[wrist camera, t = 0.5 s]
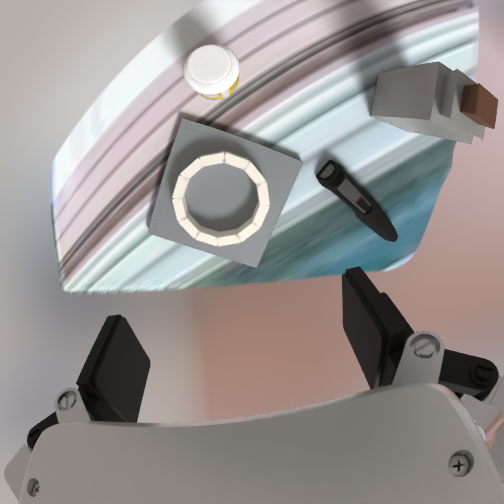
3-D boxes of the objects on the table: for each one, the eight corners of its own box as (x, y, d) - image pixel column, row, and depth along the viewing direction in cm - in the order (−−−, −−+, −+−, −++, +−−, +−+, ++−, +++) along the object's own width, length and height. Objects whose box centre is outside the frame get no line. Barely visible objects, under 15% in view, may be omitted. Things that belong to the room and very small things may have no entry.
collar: (183, 118, 31) (179, 118, 29) (301, 161, 35) (307, 164, 32) (149, 230, 38) (143, 238, 35) (255, 264, 41) (257, 275, 38)
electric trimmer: (379, 241, 41) (388, 250, 39) (312, 177, 36) (320, 182, 33) (394, 224, 40) (404, 232, 37) (330, 157, 35) (339, 160, 32)
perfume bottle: (415, 91, 30) (507, 93, 14) (407, 131, 33) (500, 152, 17) (378, 73, 29) (468, 58, 13) (369, 116, 32) (460, 124, 16)
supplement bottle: (228, 53, 28) (226, 28, 19) (245, 90, 30) (250, 77, 21) (186, 70, 29) (169, 52, 20) (203, 107, 31) (192, 101, 22)
